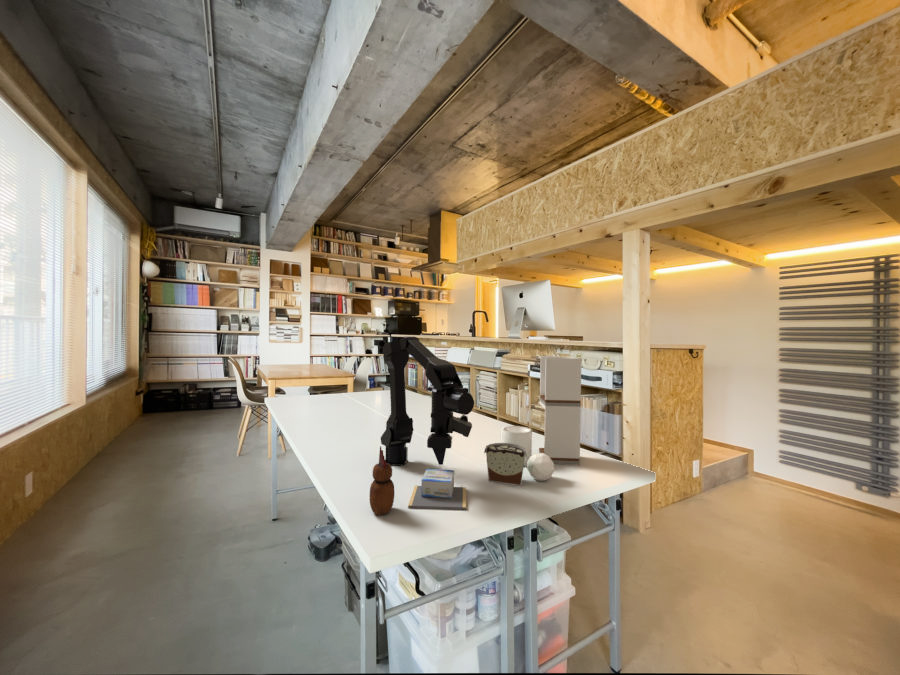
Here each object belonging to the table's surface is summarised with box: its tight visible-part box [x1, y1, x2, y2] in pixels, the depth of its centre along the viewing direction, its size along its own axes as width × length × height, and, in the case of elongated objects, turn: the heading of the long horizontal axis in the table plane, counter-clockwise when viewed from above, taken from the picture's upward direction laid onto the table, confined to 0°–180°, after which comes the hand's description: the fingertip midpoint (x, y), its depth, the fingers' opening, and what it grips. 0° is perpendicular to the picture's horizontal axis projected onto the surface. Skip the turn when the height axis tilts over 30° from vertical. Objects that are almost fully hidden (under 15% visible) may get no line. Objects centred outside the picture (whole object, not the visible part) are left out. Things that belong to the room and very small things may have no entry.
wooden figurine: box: [369, 446, 395, 516], centre depth 89 cm, size 7×6×15 cm
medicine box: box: [421, 468, 455, 498], centre depth 100 cm, size 8×4×9 cm
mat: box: [407, 485, 467, 511], centre depth 97 cm, size 14×12×1 cm
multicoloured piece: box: [483, 442, 527, 486], centre depth 110 cm, size 12×6×10 cm, turn 71°
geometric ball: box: [526, 452, 555, 481], centre depth 111 cm, size 8×8×8 cm
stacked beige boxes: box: [538, 355, 582, 466], centre depth 129 cm, size 11×11×35 cm
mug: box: [500, 425, 533, 467], centre depth 128 cm, size 14×10×11 cm
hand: (440, 464), depth 105 cm, fingers closed
